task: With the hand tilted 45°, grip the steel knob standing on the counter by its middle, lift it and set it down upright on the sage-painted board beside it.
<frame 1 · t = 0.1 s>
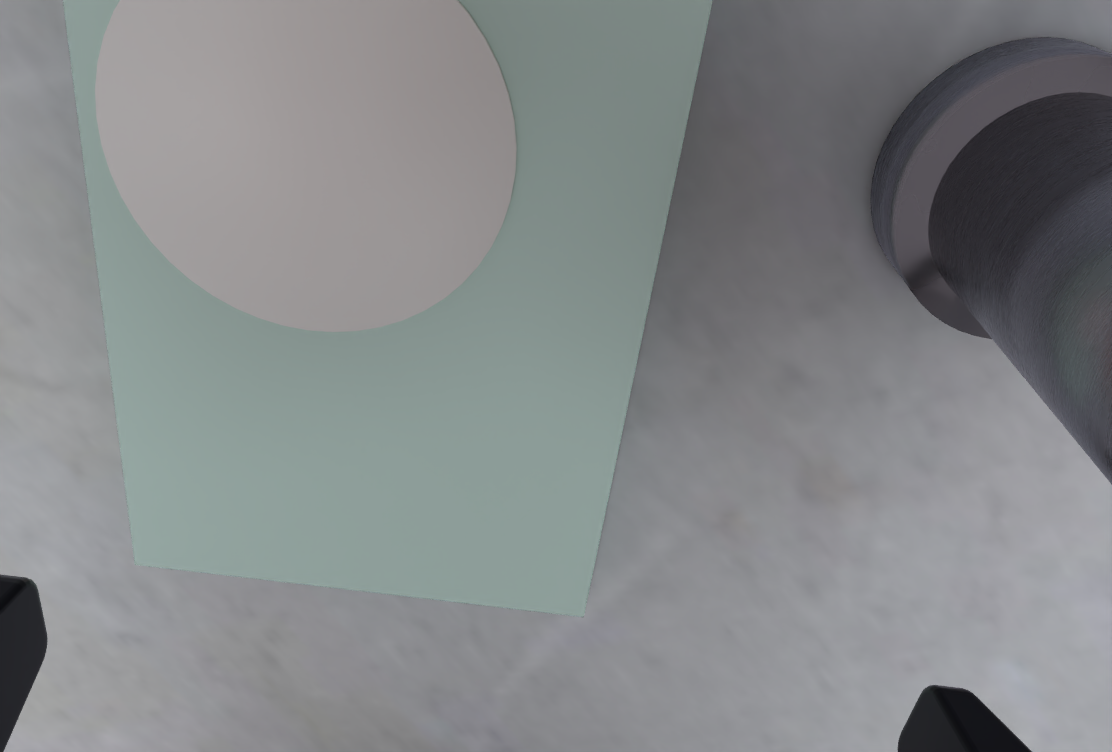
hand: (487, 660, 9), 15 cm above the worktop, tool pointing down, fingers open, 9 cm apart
sage board: (385, 253, 23), on the worktop
steel knob: (1009, 180, 22), on the worktop
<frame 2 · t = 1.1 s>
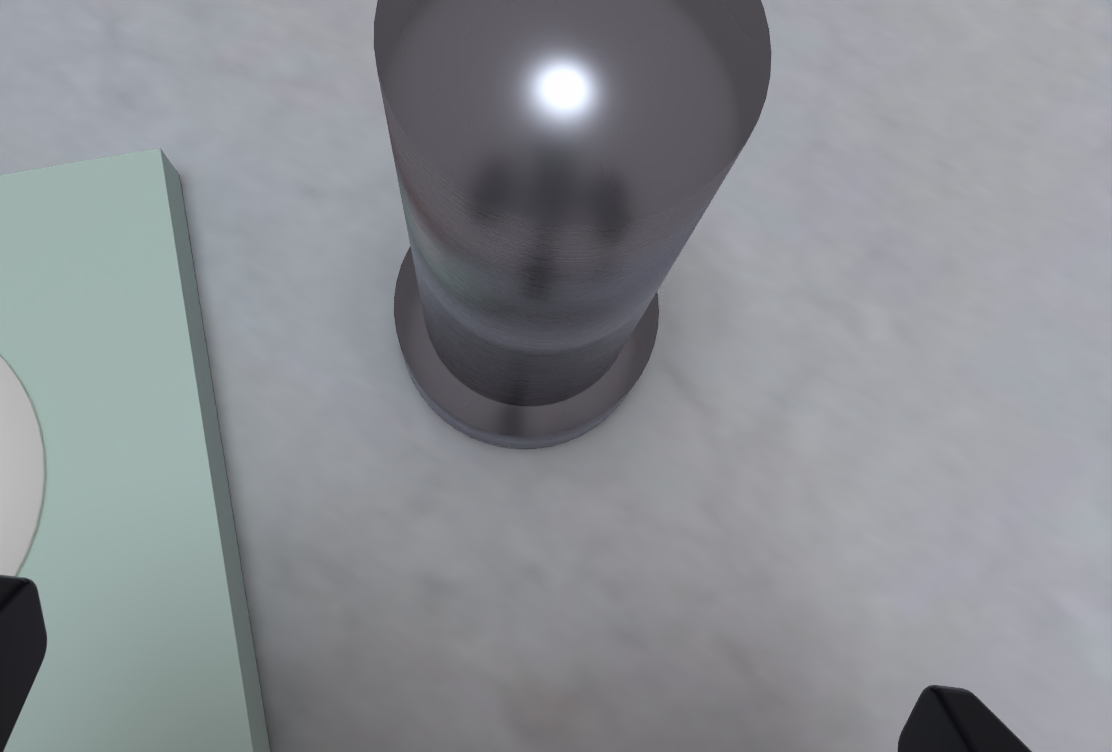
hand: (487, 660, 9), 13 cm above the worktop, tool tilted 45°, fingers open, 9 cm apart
steel knob: (523, 328, 24), on the worktop
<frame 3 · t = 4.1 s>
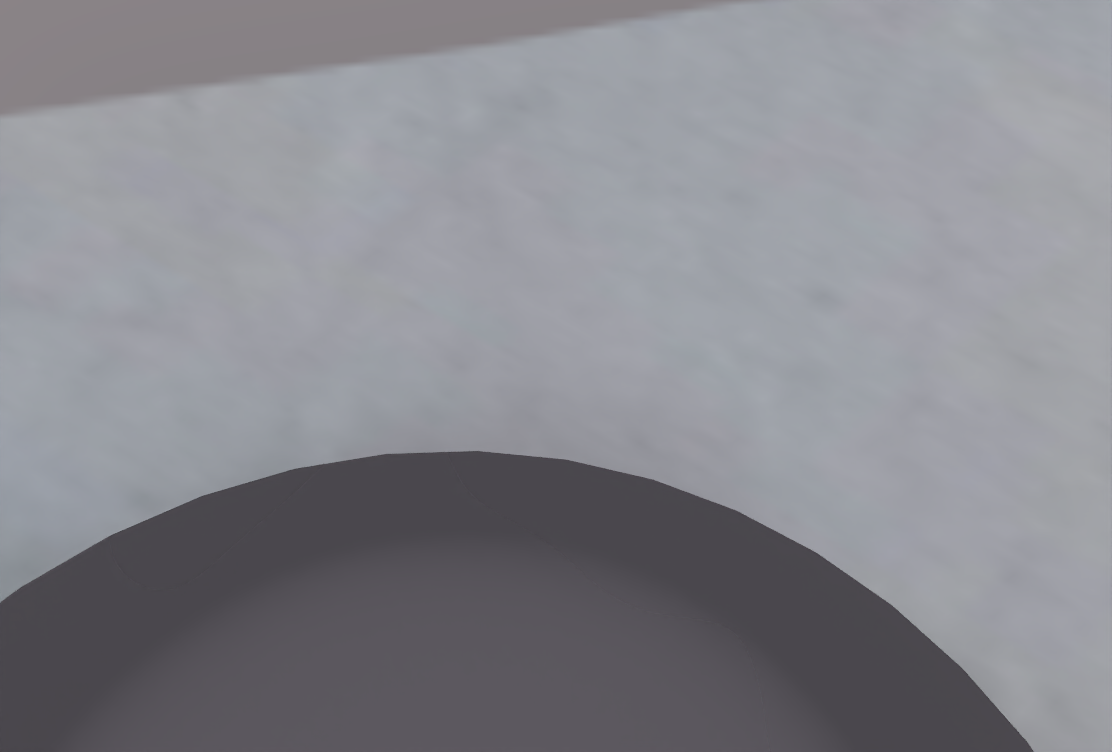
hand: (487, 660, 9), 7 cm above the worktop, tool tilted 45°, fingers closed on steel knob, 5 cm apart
steel knob: (472, 722, 15), on the worktop, touching gripper
when the fingers open (9 cm above the worktop, at t = 8.7 s): steel knob drops 1 cm, resting on sage board.
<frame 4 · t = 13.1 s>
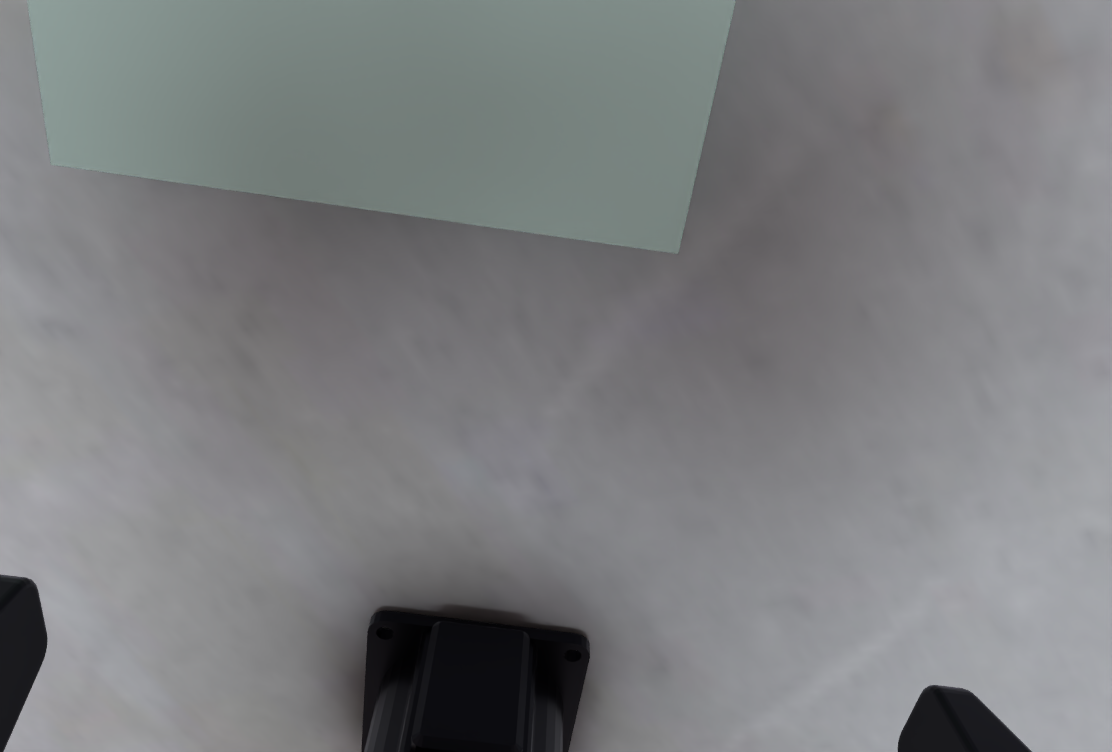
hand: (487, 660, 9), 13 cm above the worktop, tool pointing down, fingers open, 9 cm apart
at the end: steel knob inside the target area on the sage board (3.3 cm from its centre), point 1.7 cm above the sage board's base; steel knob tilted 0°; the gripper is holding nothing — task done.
